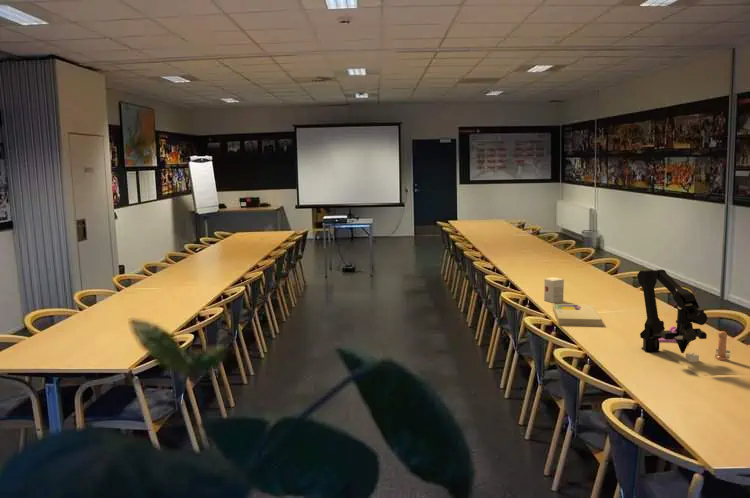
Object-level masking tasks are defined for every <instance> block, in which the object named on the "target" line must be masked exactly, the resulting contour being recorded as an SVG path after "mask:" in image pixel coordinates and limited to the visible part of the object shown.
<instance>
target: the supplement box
mask: <svg viewBox="0 0 750 498" xmlns="http://www.w3.org/2000/svg"><path fill="white" fill-rule="evenodd" d="M564 284H565V280H564V278H560V277H556V276H553V277H546V278H544V292H543V293H544V295H543V299H544V302H549V303H551V304H558V303H562V302H564V289H565V288H564V287H565V285H564Z"/></svg>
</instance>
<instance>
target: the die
mask: <svg viewBox="0 0 750 498" xmlns="http://www.w3.org/2000/svg"><path fill="white" fill-rule="evenodd" d="M699 359H700V356H699V354H697V353H695V352H686V353H685V360H686V361H688V362H689V363H699Z"/></svg>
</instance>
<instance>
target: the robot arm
mask: <svg viewBox="0 0 750 498" xmlns="http://www.w3.org/2000/svg"><path fill="white" fill-rule="evenodd" d="M636 276H637V281H638V284H639V285H640V287H641V288H642V290H643V298H644V305H645V313H646V319H645V322H644V329H643V330H642V331H641V332H640V333H639V336H640V339H642V341H643V342H642V347H641V349H642V350H643V351H644V352H646V353H660V352H661V350H660V344H661V342H659V339H658V338H664V339H666V340H673V339H675V340H676V342H675V343H676V344H677V346H678V348H679V350H680V353H682V354H684V353H685V352H686V349H687V348H688V345H689V344H690V342H693V341H696V340H697V338H699V339H700V340H707V337H708V336H707V333H706V332H705V331H704V330H702V329H701V328H694V327H693V324H695V325H699V326H704V325H705V324H706V323H707V321H708V316H707V313H706V312H705V309H703V308H701V309H700V306H699V303H698V301H697V299H696V297H695V294H694V293H693V292H692V291H690V290H688V289H686V288H684V287H683V286H680V285H679V284H678V283H677V281H676V280H674V279H673V278H672V277H671V276H670V275H669V274H668V273H667V271H666V269H662V268H661V269H645V270H640V271H638V273H637V275H636ZM657 280H658V282H659V283H660V284H661V285H663V287H664V288H666V289H667V291H669V292H670V294H671V295H672V299H673V300H674V302H675V303H676V305H675V306H674V307H673V308H674V309H676V310H677V311H676V312H677V316H676V318H677V319H675V323H676V328H677V329H675V331H676V332H677V333H673V332H671V331H669V330H665V322H664V320H661V319H660V318H659V315H658V313H659V312H658V305H657V299H656V291H655V287H656V284H657Z"/></svg>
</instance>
